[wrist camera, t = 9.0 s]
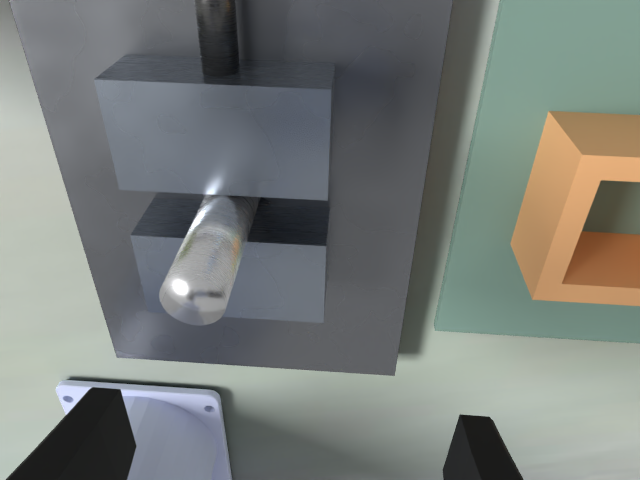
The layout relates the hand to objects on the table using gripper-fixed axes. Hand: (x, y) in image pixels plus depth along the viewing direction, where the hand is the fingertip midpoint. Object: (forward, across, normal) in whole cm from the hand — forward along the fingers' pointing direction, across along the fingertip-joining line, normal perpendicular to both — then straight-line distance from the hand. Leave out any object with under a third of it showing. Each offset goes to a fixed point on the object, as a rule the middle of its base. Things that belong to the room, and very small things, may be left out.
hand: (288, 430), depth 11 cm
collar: (+9, -10, -2) cm, 13 cm away
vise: (+9, +2, -2) cm, 10 cm away
